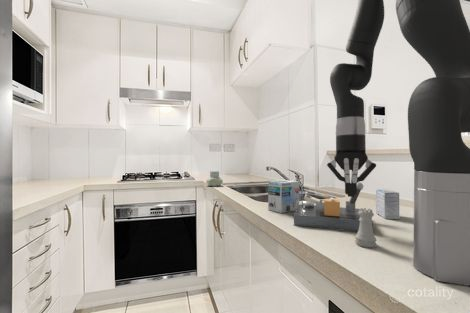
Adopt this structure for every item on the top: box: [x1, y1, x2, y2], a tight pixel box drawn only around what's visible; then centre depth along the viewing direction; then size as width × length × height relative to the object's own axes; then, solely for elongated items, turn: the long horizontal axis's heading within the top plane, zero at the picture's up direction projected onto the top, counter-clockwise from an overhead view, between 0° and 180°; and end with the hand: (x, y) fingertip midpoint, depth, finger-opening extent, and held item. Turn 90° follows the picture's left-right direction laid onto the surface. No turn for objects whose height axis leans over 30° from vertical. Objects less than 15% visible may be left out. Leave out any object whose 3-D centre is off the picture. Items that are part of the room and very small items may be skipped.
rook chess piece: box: [354, 207, 378, 249], centre depth 55 cm, size 4×4×8 cm
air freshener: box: [205, 170, 223, 187], centre depth 164 cm, size 11×8×10 cm
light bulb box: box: [267, 179, 301, 214], centre depth 91 cm, size 11×7×11 cm, turn 129°
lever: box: [349, 181, 364, 205], centre depth 78 cm, size 3×3×9 cm
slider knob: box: [323, 197, 341, 217], centre depth 71 cm, size 4×4×5 cm
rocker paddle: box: [303, 194, 324, 205], centre depth 77 cm, size 4×10×1 cm, turn 70°
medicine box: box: [375, 189, 401, 220], centre depth 82 cm, size 8×4×9 cm, turn 168°
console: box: [293, 198, 374, 233], centre depth 75 cm, size 17×20×6 cm
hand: (350, 196), depth 69 cm, fingers closed
